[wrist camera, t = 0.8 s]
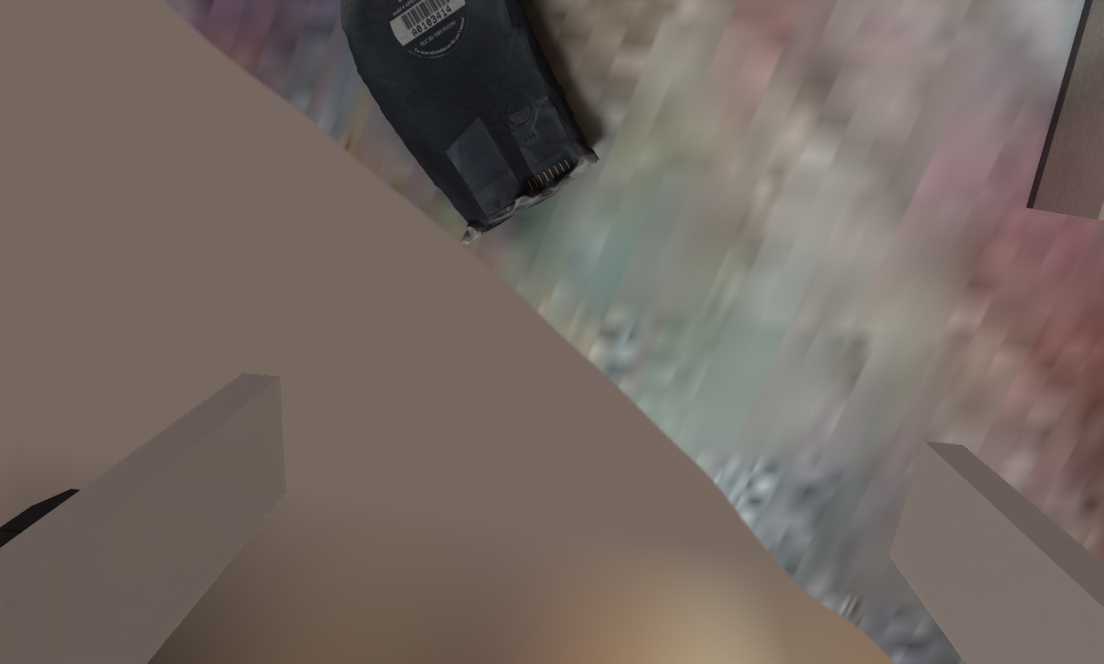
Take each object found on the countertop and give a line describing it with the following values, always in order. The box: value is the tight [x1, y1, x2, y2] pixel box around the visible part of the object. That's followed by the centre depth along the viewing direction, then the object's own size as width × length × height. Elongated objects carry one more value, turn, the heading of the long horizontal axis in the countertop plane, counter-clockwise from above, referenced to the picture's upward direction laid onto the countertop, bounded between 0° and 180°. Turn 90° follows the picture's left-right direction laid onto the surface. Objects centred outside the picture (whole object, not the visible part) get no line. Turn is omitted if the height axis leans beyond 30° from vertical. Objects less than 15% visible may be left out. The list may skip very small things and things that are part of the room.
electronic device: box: [341, 0, 600, 245], centre depth 32 cm, size 9×6×15 cm
